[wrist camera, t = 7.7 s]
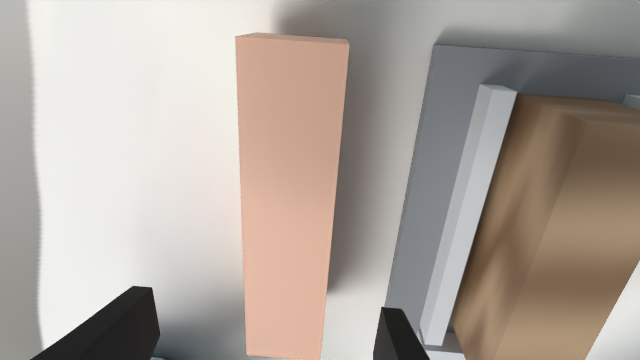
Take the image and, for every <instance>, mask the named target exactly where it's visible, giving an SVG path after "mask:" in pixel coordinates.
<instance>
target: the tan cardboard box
mask: <svg viewBox="0 0 640 360" xmlns="http://www.w3.org/2000/svg"><path fill="white" fill-rule="evenodd" d="M639 260H640V110H638V109H634V108H631V107H628V106H625V105H621V104H618V103H615V102H611V101H608V100H604V99H590V98H576V97H562V96H549V95H535V94H521V93H517V96H516V99H515V102H514V106H513V109H512V113H511V116H510V119H509V123H508V126H507V129H506V133H505V136H504V140H503V143H502V146H501V150H500V153H499V156H498V160H497V163H496V166H495V170H494V173H493V177H492V180H491V183H490V187H489V190H488V193H487V197H486V200H485V204H484V207H483V210H482V214H481V217H480V220H479V224H478V227H477V231H476V234H475V237H474V241H473V244H472V247H471V251H470V254H469V258H468V261H467V264H466V268H465V271H464V274H463V278H462V281H461V284H460V288H459V291H458V295H457V298H456V301H455V305H454V308H453V311H452V315H451V318H450V319H451V322H452V324H453V327H454V330H455V332H456V335H457V338H458V341H459V343H460V346H461V349H462V351H463V354H464V357H465V359H466V360H585V358H586V356H587V355H588V353H589V351H590V349H591V347H592V346H593V344H594V342H595V340H596V338H597V336H598V335H599V333H600V331H601V329H602V327H603V326H604V324H605V322H606V320H607V318H608V317H609V315H610V313H611V311H612V309H613V307H614V306H615V304H616V302H617V300H618V298H619V297H620V295H621V293H622V291H623V289H624V288H625V286H626V284H627V282H628V280H629V278H630V277H631V275H632V273H633V271H634V269H635V268H636V266H637V264H638V262H639Z"/></svg>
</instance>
